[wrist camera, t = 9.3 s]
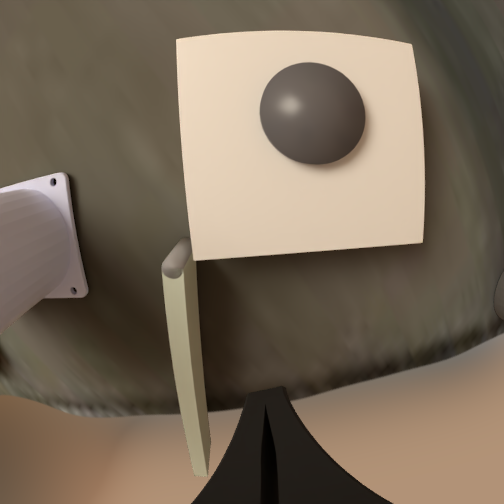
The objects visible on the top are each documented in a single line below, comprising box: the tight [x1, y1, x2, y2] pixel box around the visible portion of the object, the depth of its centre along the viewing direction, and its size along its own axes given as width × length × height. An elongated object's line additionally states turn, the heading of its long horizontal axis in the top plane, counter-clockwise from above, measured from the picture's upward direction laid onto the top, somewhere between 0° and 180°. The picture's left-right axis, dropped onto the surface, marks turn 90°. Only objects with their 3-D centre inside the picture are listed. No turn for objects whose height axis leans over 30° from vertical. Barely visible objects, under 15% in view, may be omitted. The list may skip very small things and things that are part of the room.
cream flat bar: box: [162, 237, 211, 477], centre depth 18 cm, size 17×1×4 cm, turn 179°
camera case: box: [176, 31, 425, 261], centre depth 14 cm, size 11×10×5 cm
